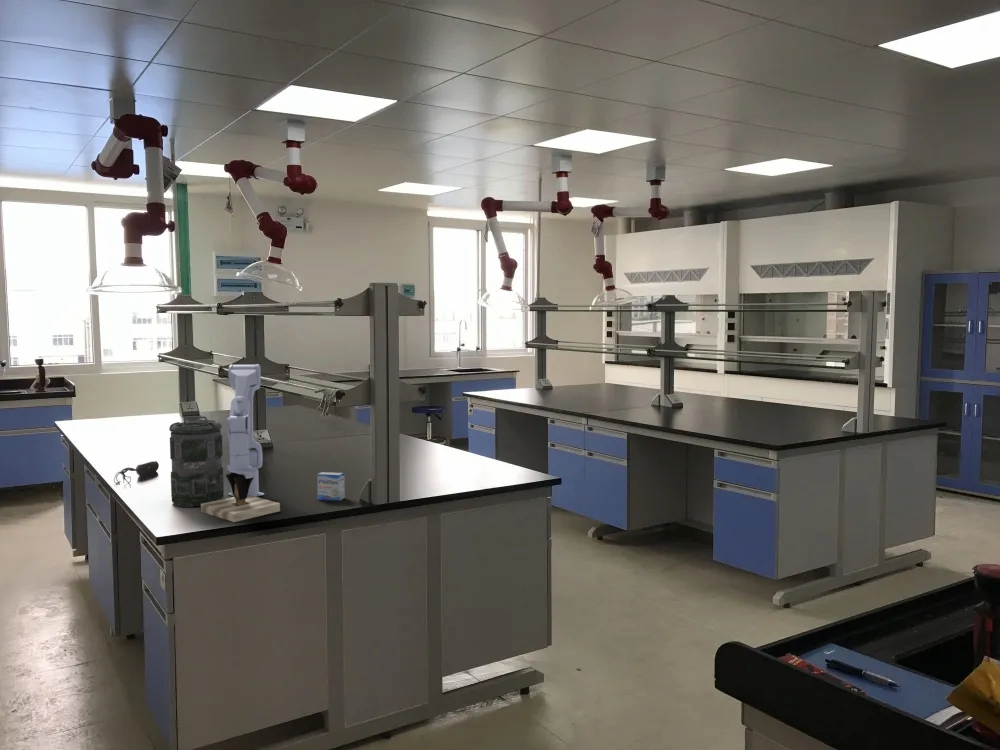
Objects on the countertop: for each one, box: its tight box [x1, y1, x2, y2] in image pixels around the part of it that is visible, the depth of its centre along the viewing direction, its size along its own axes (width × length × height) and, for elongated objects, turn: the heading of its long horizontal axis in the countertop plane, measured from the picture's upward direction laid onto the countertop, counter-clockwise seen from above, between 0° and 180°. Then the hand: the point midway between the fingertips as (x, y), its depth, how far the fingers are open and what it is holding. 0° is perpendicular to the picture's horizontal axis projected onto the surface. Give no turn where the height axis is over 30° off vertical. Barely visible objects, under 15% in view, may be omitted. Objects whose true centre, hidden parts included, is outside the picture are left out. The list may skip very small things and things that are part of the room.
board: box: [200, 495, 281, 523], centre depth 240 cm, size 18×16×2 cm
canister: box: [168, 415, 225, 508], centre depth 251 cm, size 16×16×28 cm
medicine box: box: [317, 471, 346, 502], centre depth 256 cm, size 8×4×9 cm, turn 81°
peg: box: [235, 483, 246, 506], centre depth 240 cm, size 4×4×7 cm
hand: (240, 497), depth 240 cm, fingers closed on peg, 4 cm apart
